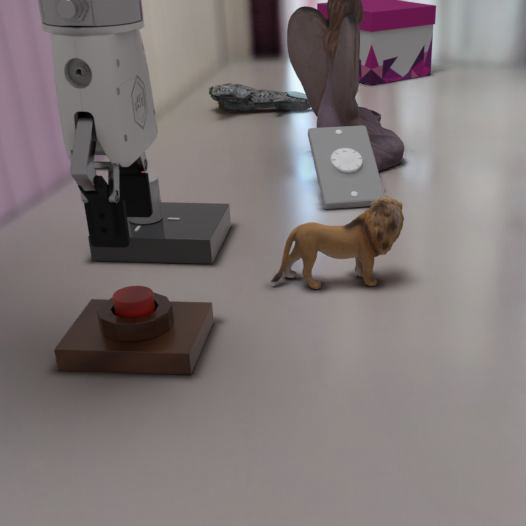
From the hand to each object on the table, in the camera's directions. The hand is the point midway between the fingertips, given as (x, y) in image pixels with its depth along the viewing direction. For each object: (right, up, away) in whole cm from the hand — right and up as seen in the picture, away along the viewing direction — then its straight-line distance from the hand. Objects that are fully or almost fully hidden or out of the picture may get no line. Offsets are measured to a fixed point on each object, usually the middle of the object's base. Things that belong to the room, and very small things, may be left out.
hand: (123, 228), depth 69 cm
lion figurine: (+19, -3, +19) cm, 27 cm away
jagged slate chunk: (+3, +36, +86) cm, 93 cm away
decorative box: (+26, +54, +118) cm, 132 cm away
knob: (-5, +5, +26) cm, 27 cm away
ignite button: (0, -7, +4) cm, 8 cm away
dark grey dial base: (-3, +2, +28) cm, 28 cm away
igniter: (0, -10, +6) cm, 12 cm away
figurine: (+20, +20, +58) cm, 64 cm away
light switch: (+19, +12, +44) cm, 49 cm away
